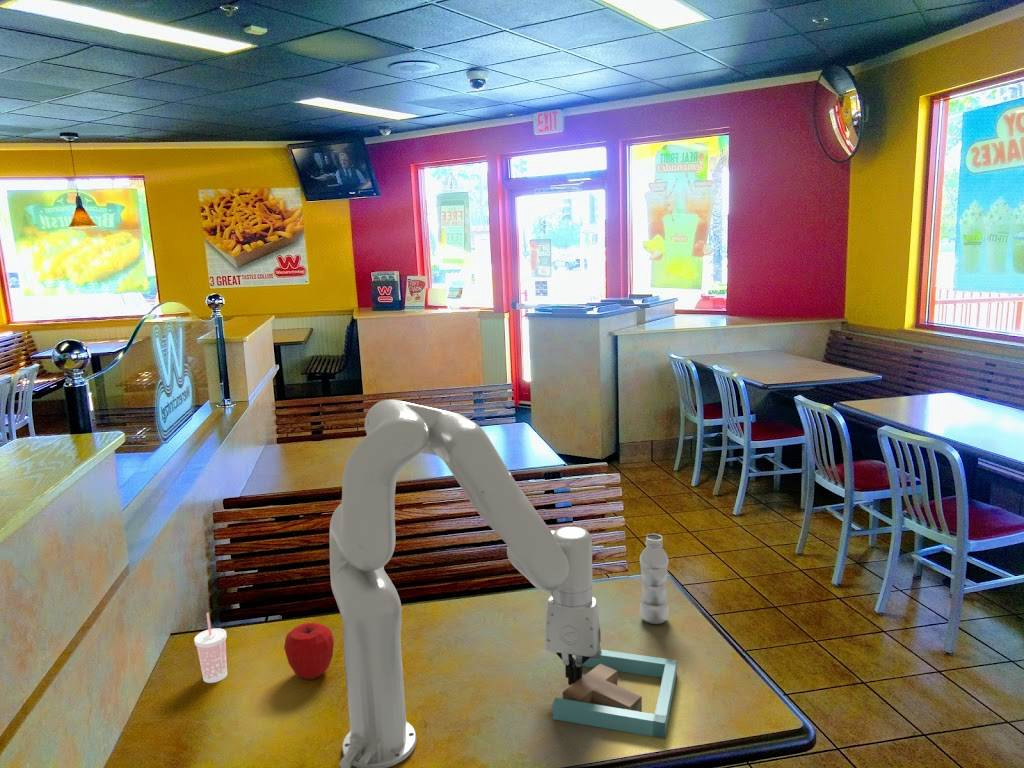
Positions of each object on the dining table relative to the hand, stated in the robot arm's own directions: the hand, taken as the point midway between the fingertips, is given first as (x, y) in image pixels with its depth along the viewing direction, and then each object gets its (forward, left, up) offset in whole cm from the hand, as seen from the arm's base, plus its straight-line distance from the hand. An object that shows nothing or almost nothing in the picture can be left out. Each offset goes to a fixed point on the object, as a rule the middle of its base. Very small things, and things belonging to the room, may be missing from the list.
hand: (574, 681), depth 142 cm
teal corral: (0, -7, -2) cm, 8 cm away
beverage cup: (-15, +72, -2) cm, 73 cm away
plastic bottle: (+30, -11, -2) cm, 32 cm away
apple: (-9, +53, -2) cm, 53 cm away
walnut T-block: (-3, -7, -2) cm, 8 cm away
